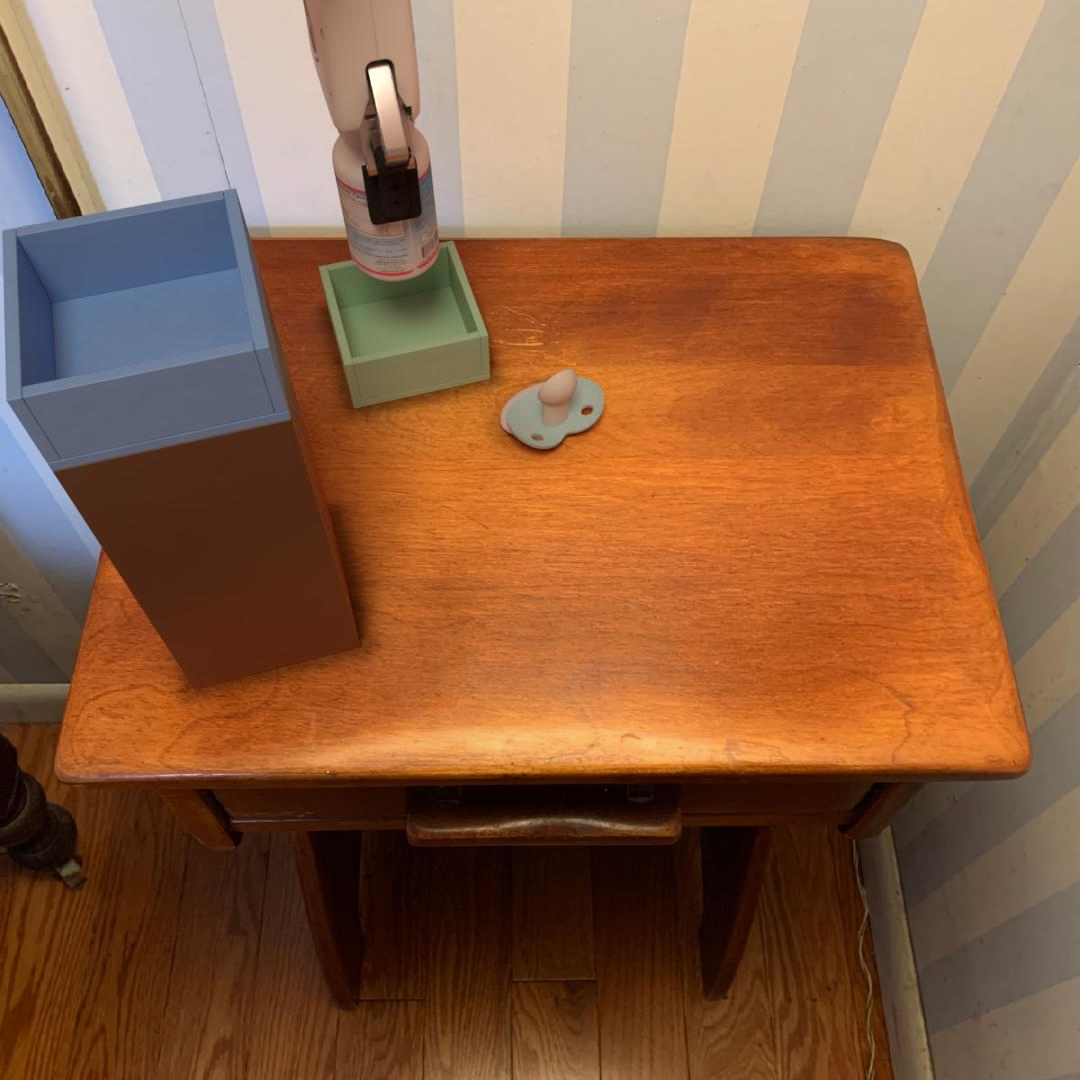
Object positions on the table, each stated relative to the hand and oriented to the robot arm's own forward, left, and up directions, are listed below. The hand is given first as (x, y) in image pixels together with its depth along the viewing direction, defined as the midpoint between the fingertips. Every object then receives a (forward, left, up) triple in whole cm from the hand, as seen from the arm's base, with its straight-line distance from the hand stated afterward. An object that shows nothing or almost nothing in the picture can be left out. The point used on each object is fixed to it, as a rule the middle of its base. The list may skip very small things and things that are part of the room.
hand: (384, 181), depth 65 cm
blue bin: (-13, -19, -15) cm, 28 cm away
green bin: (0, 0, -15) cm, 15 cm away
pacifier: (+8, -10, -15) cm, 20 cm away
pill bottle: (0, 0, -6) cm, 6 cm away
